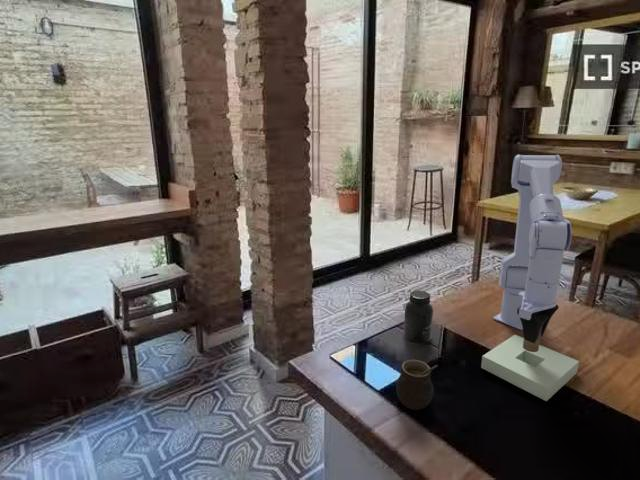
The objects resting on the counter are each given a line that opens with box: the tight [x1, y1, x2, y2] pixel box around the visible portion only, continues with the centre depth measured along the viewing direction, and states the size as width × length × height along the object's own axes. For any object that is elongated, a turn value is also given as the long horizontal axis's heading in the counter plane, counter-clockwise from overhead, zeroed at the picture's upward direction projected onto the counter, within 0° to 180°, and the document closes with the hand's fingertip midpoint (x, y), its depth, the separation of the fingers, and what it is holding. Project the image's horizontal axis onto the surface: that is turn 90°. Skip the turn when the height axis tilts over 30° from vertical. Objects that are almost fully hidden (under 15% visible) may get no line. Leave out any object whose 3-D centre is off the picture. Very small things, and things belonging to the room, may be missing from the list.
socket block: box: [480, 334, 580, 402], centre depth 87 cm, size 14×14×3 cm
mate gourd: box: [395, 359, 438, 411], centre depth 77 cm, size 7×8×10 cm
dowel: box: [523, 327, 542, 352], centre depth 85 cm, size 3×3×7 cm
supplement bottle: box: [403, 290, 434, 345], centre depth 99 cm, size 7×7×12 cm
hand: (533, 337), depth 85 cm, fingers closed on dowel, 3 cm apart
